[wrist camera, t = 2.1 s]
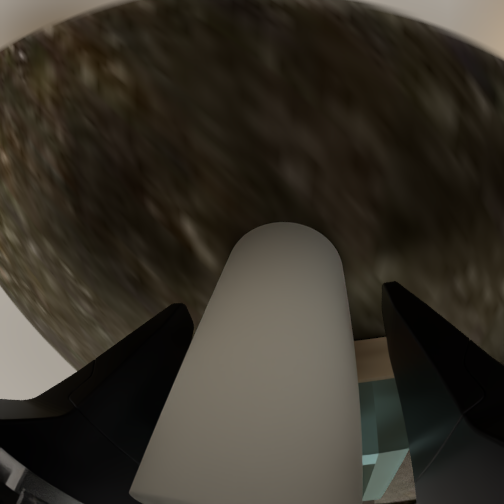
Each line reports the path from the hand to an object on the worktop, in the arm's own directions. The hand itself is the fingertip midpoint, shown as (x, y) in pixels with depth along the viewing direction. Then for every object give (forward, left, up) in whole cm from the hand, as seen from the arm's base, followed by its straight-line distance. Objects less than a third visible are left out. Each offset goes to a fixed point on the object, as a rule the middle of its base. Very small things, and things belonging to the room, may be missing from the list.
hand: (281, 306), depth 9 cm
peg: (0, 0, -2) cm, 2 cm away
